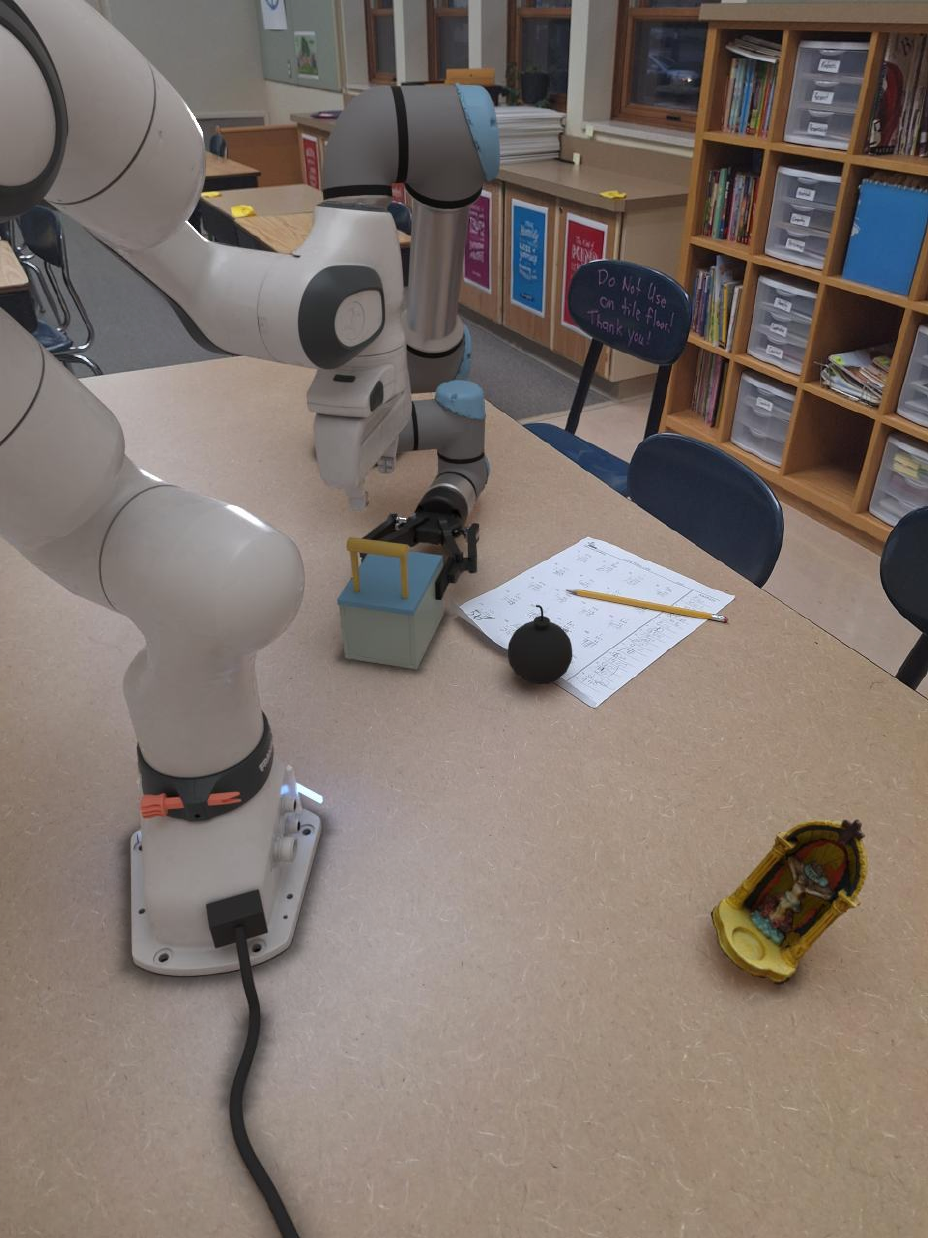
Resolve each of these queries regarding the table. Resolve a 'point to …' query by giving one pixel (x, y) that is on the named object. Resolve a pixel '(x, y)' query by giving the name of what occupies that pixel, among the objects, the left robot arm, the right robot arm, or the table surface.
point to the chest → (392, 632)
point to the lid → (388, 576)
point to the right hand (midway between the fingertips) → (399, 586)
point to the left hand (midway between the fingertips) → (373, 489)
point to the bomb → (540, 651)
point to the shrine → (792, 897)
